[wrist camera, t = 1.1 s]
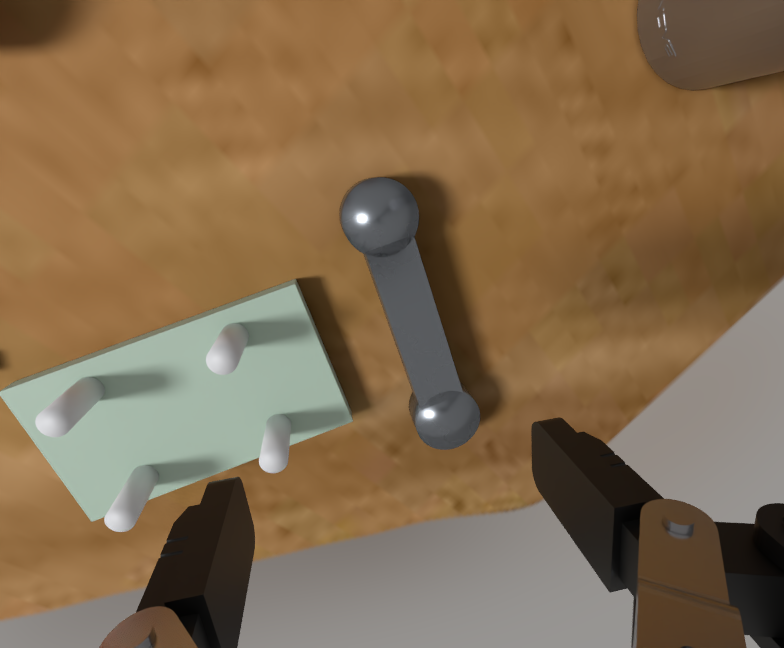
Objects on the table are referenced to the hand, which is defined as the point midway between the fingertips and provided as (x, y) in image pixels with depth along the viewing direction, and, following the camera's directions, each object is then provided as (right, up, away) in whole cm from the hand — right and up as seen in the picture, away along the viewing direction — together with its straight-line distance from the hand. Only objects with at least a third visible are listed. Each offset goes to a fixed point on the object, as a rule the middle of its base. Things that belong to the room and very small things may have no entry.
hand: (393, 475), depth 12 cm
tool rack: (-13, -1, +17) cm, 21 cm away
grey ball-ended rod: (+1, +5, +18) cm, 19 cm away
